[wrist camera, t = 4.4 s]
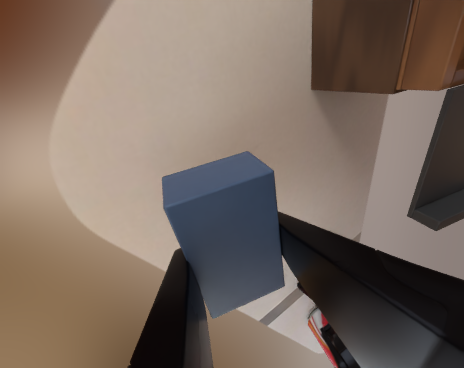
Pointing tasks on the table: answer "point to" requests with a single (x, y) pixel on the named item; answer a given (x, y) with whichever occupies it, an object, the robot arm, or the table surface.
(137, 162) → the table surface
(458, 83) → the tray
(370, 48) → the cabinet body
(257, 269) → the block
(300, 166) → the table surface
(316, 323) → the beverage can
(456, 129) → the lid
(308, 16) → the table surface
